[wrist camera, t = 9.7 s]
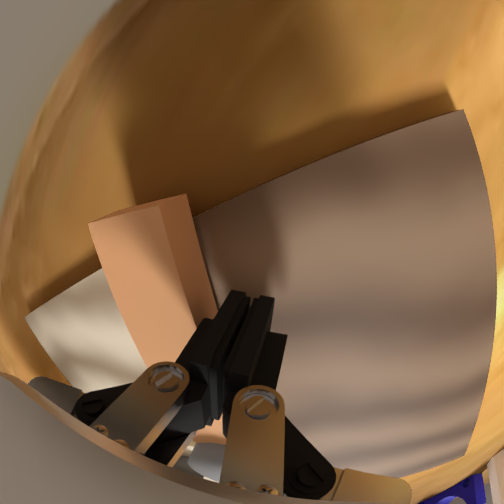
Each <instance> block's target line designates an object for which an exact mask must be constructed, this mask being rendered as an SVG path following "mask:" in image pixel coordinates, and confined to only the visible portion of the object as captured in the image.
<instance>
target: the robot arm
mask: <svg viewBox="0 0 504 504" xmlns="http://www.w3.org/2000/svg"><path fill="white" fill-rule="evenodd" d="M250 301H251V297H248V296H246V292H242V291H237V290H231V291H230V292H229V294H228V296H227V297H226V299H225V301H224V302H223V304H222V306H221V307H220V309H219V311H218V312H217V314H216V316H215V317H214V319H209V318H204V319H203V320H202V321H201V323H200V324H199V326H198V327H197V329H196V330H195V332H194V333H193V335H192V337H191V338H190V340H189V341H188V343H187V344H186V346H185V347H184V349H183V350H182V352H181V354H180V355H179V357H178V358H177V360H176V361H175V363H174V362H168V361H164V362H158V363H155V364H153V365H151V366H150V367H149V368H147V369H146V370H145V371H144V372H143V373H142V374H141V375H140V376H139V377H138V378H137V379H136V380H135V381H134V382H133V383H129V384H124V385H120V386H115V387H111V388H106V389H101V390H96V391H91V392H88V393H84V392H83V390H81V389H78V388H75V387H72V386H69V385H66V384H63V383H60V382H57V381H55V380H52V379H49V378H47V377H42V376H40V377H36V378H34V379H32V380H31V381H30V382H29V383H28V384H27V383H25V382H24V381H22V380H20V379H19V378H17V377H15V376H13V375H10V374H7V373H4V372H0V504H410V501H411V497H412V489H411V487H410V485H409V484H408V483H407V482H406V481H405V480H403V479H400V478H394V477H388V476H382V475H376V474H371V473H366V472H362V471H357V470H353V469H348V468H345V469H344V470H343V469H339V468H335V467H333V466H332V465H331V463H330V462H329V461H328V460H327V459H326V458H325V457H324V456H323V455H322V454H321V453H320V452H319V451H318V450H317V449H316V448H315V447H314V446H313V445H312V444H311V443H310V442H309V441H308V440H307V439H306V438H305V437H304V436H303V434H302V433H301V432H300V431H299V430H298V429H297V428H296V427H295V426H294V425H293V424H292V423H291V421H290V420H289V419H288V418H287V417H286V416H285V404H284V400H283V398H282V396H281V395H280V394H279V393H278V392H277V391H276V387H277V383H278V378H279V374H280V370H281V365H282V360H283V356H284V351H285V346H286V341H287V336H288V335H286V334H281V333H275V332H270V330H271V323H272V316H273V309H274V302H275V298H274V297H269V296H263V295H260V297H259V298H254V299H253V302H252V304H251V306H250ZM221 415H222V428H223V435H224V436H225V438H226V439H227V440H226V446H225V451H224V457H223V463H222V469H221V475H220V480H219V483H217V482H213V481H210V480H207V479H203V478H200V477H197V476H194V475H191V474H188V473H185V472H183V471H180V470H177V469H174V468H172V467H173V466H174V464H175V463H176V462H177V460H178V459H179V458H180V456H181V455H182V453H183V452H184V451H185V449H186V448H187V446H188V445H189V444H190V442H191V441H192V439H193V438H194V436H195V434H196V432H197V430H200V429H203V428H205V426H206V425H208V426H212V423H213V421H214V419H215V420H219V419H220V418H221Z"/></svg>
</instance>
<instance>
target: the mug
mask: <svg viewBox="0 0 504 504" xmlns="http://www.w3.org/2000/svg"><path fill="white" fill-rule="evenodd" d="M487 469H488V475H489V480H490V486H491V492H492V499H493V504H504V449H503V450H501V451H500V452H499V453H497V454H496V455H494V456H493V457H492V458H491V460H490V461H489V462H488V464H487Z"/></svg>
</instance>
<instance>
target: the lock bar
mask: <svg viewBox="0 0 504 504" xmlns="http://www.w3.org/2000/svg"><path fill="white" fill-rule="evenodd" d="M88 226H89V229H90V232H91V236H92V239H93V242H94V245H95V248H96V251H97V254H98V257H99V260H100V263H101V266H102V268H103V271H104V274H105V276H106V279H107V282H108V284H109V287H110V289H111V292H112V294H113V297H114V299H115V302H116V304H117V306H118V309H119V311H120V313H121V315H122V318H123V320H124V322H125V324H126V326H127V329H128V331H129V333H130V335H131V337H132V339H133V341H134V343H135V345H136V347H137V349H138V351H139V353H140V355H141V357H142V359H143V361H144V363H145V364H146V366H147V368H149V367H150V366H151V365H153V364H155V363H158V362H164V361H168V362H174V363H175V361H176V360H177V358H178V357H179V355H180V354H181V352H182V350H183V349H184V347H185V346H186V344H187V343H188V341H189V340H190V338H191V337H192V335H193V333H194V332H195V330H196V329H197V327H198V326H199V324H200V323H201V321H202V320H203V319H204V318H209V319H214V317H215V316H216V314H217V312H218V309H217V306H216V303H215V299H214V296H213V292H212V289H211V286H210V282H209V278H208V275H207V271H206V268H205V264H204V260H203V257H202V253H201V249H200V246H199V242H198V238H197V234H196V230H195V226H194V222H193V218H192V214H191V210H190V206H189V202H188V198H187V194H182V195H178V196H173V197H169V198H165V199H161V200H157V201H153V202H149V203H145V204H141V205H137V206H133V207H129V208H126V209H122V210H118V211H116V212H113V213H111V214H109V215H106V216H104V217H102V218H99V219H97V220H95V221H93V222H90V223H88ZM192 440H193V441H194V442H196V444H195V446H194V448H193V450H192V453H191V455H190V457H189V459H188V464H189V466H190V467H191V468H192V469H193V470H195V471H196V472H197V473H199V474H201V475H203V476H205V477H207V478H209V479H212V480H214V481H217V482H219V480H220V475H221V469H222V463H223V457H224V451H225V446H226V440H227V439H226V438H225V436H224V435H223V428H222V415H221V418H220V419H219V420H215V419H214V421H213V423H212V426H208V425H206V426H205V428H203V429H200V430H197V432H196V434H195V436H194V438H193V439H192Z"/></svg>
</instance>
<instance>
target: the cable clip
mask: <svg viewBox="0 0 504 504" xmlns="http://www.w3.org/2000/svg"><path fill="white" fill-rule="evenodd" d="M457 496H458V497H460V498H463V500H464V501H465V502H466V503H467V504H484V503H486V497H485V491H484V483H483V477H482V473H481V474H475V475H472V476H470V477H468V478H467V479H465V480H463V481H462V482H460V483H458V484H457V485H455V486H453V487H451V488H449V489H447V490H446V491H444V492H442V493H440V494H438V495H436V496H434V497H432V498H430V499H428V500H425V501H423V502H421V503H419V504H449V503H450V502H451V501H452V500H453V499H454V498H456V497H457Z"/></svg>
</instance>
